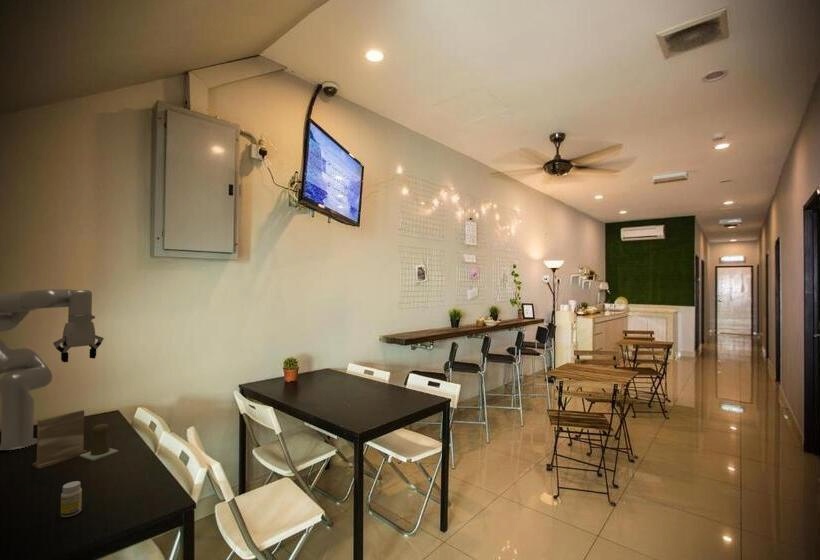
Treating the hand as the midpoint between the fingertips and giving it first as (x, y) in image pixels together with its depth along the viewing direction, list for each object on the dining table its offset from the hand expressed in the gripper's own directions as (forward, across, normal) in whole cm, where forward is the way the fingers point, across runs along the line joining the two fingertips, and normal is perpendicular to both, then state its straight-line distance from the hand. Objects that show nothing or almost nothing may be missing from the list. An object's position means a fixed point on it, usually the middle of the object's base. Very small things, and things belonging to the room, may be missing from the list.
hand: (79, 360), depth 164 cm
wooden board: (+36, +9, +8) cm, 38 cm away
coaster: (+36, 0, +16) cm, 40 cm away
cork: (+36, 0, +16) cm, 39 cm away
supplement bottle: (+36, +27, +55) cm, 71 cm away
